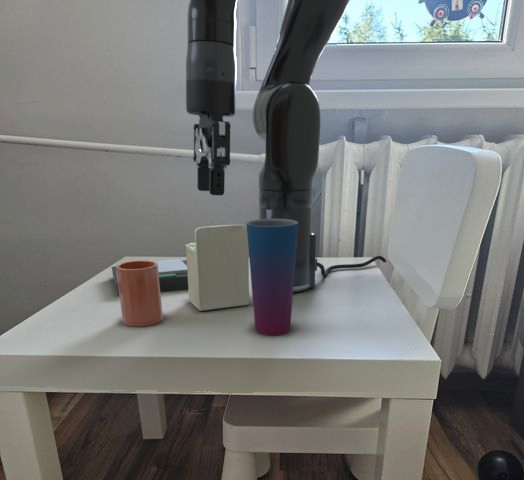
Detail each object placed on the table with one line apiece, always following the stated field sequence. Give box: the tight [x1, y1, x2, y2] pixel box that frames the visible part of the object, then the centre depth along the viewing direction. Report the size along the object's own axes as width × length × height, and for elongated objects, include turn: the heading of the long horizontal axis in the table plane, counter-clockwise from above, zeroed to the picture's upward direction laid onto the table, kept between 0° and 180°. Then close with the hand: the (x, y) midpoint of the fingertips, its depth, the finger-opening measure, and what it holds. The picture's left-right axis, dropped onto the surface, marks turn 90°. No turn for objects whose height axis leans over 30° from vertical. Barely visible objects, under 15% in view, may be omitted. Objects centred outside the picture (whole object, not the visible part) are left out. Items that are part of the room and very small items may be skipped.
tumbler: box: [115, 260, 164, 328], centre depth 74 cm, size 6×6×8 cm
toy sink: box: [185, 224, 250, 312], centre depth 81 cm, size 8×7×13 cm
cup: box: [245, 219, 298, 336], centre depth 68 cm, size 7×7×15 cm
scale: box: [111, 258, 188, 297], centre depth 95 cm, size 15×13×3 cm
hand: (210, 192), depth 81 cm, fingers open, 8 cm apart
